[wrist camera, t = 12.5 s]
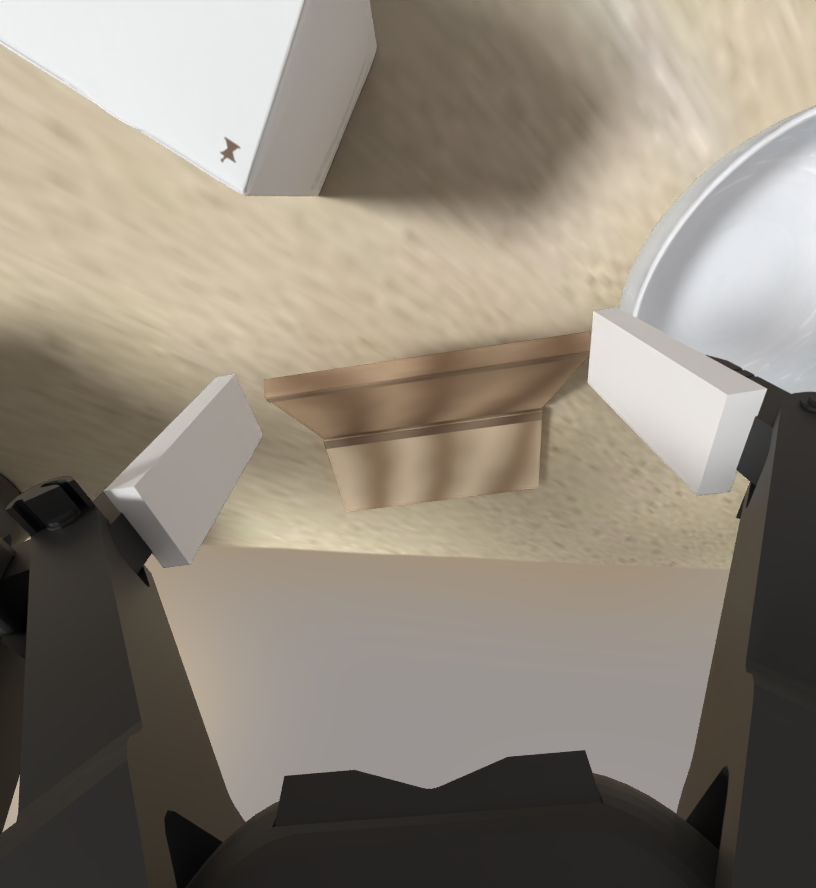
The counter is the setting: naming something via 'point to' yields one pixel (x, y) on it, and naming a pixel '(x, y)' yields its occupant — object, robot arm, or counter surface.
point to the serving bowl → (741, 259)
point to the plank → (430, 386)
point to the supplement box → (212, 77)
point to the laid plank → (437, 460)
